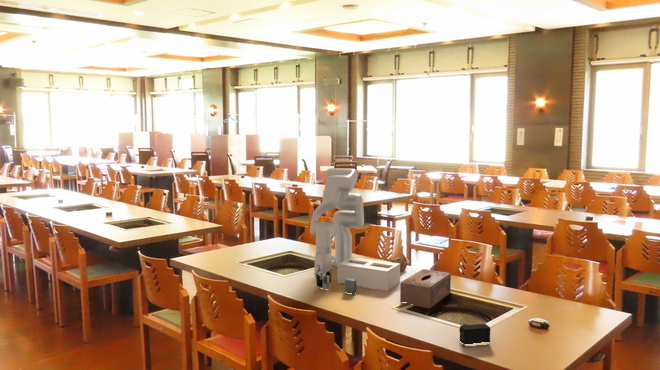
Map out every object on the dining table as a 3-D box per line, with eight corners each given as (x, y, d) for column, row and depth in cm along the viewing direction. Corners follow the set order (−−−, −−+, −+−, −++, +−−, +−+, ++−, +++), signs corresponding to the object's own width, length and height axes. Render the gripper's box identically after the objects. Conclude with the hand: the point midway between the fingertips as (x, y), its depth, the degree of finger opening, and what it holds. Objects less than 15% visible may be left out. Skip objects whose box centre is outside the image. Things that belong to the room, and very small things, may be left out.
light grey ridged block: (318, 288, 278) (318, 275, 277) (321, 287, 280) (320, 274, 279) (327, 290, 275) (326, 276, 275) (329, 289, 278) (329, 275, 277)
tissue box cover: (429, 309, 249) (429, 287, 248) (400, 303, 257) (400, 282, 256) (450, 293, 271) (450, 273, 269) (422, 288, 278) (423, 268, 277)
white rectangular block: (337, 282, 288) (337, 263, 286) (352, 274, 301) (351, 256, 300) (387, 291, 274) (387, 271, 272) (400, 282, 287) (400, 263, 286)
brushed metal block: (344, 293, 271) (344, 279, 270) (347, 292, 273) (347, 278, 272) (353, 295, 268) (353, 281, 267) (356, 293, 270) (356, 279, 269)
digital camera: (483, 339, 215) (484, 322, 214) (490, 345, 209) (490, 327, 209) (458, 341, 213) (458, 324, 212) (464, 347, 208) (464, 329, 207)
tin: (393, 276, 298) (393, 261, 297) (388, 275, 300) (388, 260, 299) (407, 270, 310) (407, 255, 309) (402, 269, 312) (402, 254, 311)
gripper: (326, 245, 285) (326, 278, 287) (307, 252, 270) (308, 288, 272) (338, 247, 281) (339, 280, 283) (321, 254, 266) (321, 290, 268)
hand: (323, 284), depth 277 cm, fingers open, 7 cm apart
